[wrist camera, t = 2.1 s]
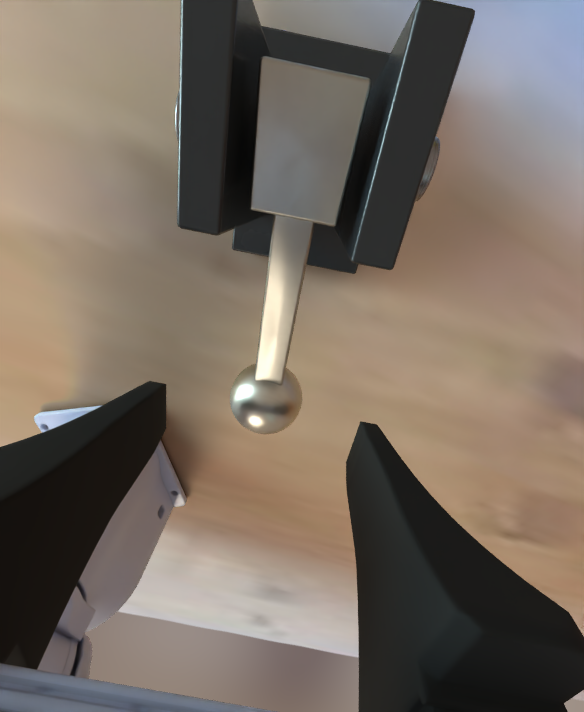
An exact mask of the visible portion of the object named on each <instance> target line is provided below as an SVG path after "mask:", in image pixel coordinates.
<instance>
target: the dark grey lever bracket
mask: <svg viewBox="0 0 584 712" xmlns="http://www.w3.org/2000/svg"><path fill="white" fill-rule="evenodd" d="M474 15H475V11H474V10H473V9H470V8H466V7H461V6H457V5H452V4H447V3H443V2H438V1H433V0H419V1H418V2H417V4H416V6H415V8H414V10H413V12H412V14H411V16H410V17H409V19H408V21H407V23H406V25H405V27H404V29H403V31H402V33H401V35H400V37H399V38H398V40H397V42H396V44H395V46H394V48H393V50H392V52H391V53H386V52H381V51H377V50H372V49H367V48H363V47H358V46H353V45H349V44H344V43H339V42H334V41H330V40H325V39H320V38H316V37H311V36H306V35H302V34H297V33H292V32H288V31H283V30H278V29H273V28H269V27H264V26H261V24H260V21H259V18H258V15H257V12H256V9H255V6H254V3H253V0H181V24H180V85H179V93H178V96H177V100H176V109H175V126H176V134H177V139H178V143H179V146H178V207H177V224H178V227H180V228H182V229H187V230H192V231H197V232H202V233H207V234H212V235H220V234H223V233H225V232H227V231H230V230H232V229H234V232H233V243H232V249H233V250H236V251H241V252H246V253H251V254H256V255H261V256H266V257H269V252H270V244H271V236H272V227H273V219H274V215H273V214H268V213H263V212H258V211H253V210H251V209H250V207H249V198H250V185H251V171H252V157H253V143H254V129H255V115H256V102H257V88H258V74H259V61H260V59H261V57H264V56H267V57H271V58H276V59H281V60H286V61H290V62H295V63H300V64H304V65H309V66H314V67H319V68H323V69H328V70H333V71H338V72H342V73H347V74H352V75H357V76H361V77H366V78H369V79H370V80H371V84H372V86H371V90H370V94H369V98H368V102H367V106H366V110H365V114H364V119H363V123H362V127H361V131H360V135H359V139H358V143H357V147H356V151H355V155H354V160H353V164H352V168H351V172H350V176H349V180H348V184H347V188H346V192H345V196H344V200H343V205H342V209H341V213H340V217H339V221H338V224H337V225H336V226H334V227H333V226H328V225H323V224H318V223H315V224H314V229H313V234H312V239H311V244H310V249H309V254H308V259H307V265H312V266H317V267H322V268H327V269H332V270H337V271H342V272H347V273H352V274H355V273H356V270H357V267H358V264H361V265H366V266H371V267H376V268H381V269H386V270H392V269H393V268H394V265H395V262H396V259H397V256H398V253H399V250H400V246H401V243H402V240H403V237H404V234H405V231H406V228H407V225H408V222H409V218H410V215H411V212H412V209H413V206H414V203H415V201H418V200H419V199H420V198H421V197H422V196H423V194H424V192H425V191H426V189H427V187H428V185H429V183H430V181H431V178H432V176H433V173H434V170H435V167H436V164H437V160H438V156H439V150H440V140H439V138H437V137H436V134H437V131H438V128H439V125H440V122H441V119H442V116H443V113H444V109H445V106H446V103H447V100H448V97H449V94H450V91H451V88H452V85H453V81H454V78H455V75H456V72H457V69H458V66H459V63H460V60H461V56H462V53H463V50H464V47H465V44H466V41H467V38H468V35H469V32H470V28H471V25H472V22H473V19H474Z"/></svg>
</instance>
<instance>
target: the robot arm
mask: <svg viewBox="0 0 584 712" xmlns="http://www.w3.org/2000/svg"><path fill="white" fill-rule="evenodd" d="M34 420H35V422H36V424H37V426H38V427H39V429H40V430H41V432H42V433H40V434H37V435H35V436H32V437H29V438H27V439H24V440H21V441H18V442H15V443H12V444H9V445H5V446H2V447H0V712H276V711H270V710H264V709H259V708H253V707H248V706H242V705H236V704H230V703H224V702H218V701H213V700H207V699H201V698H196V697H190V696H185V695H179V694H173V693H167V692H162V691H155V690H150V689H144V688H139V687H133V686H127V685H122V684H115V683H110V682H104V681H99V680H92V679H89V673H90V665H91V659H92V644H91V641H90V639H89V637H88V636H86V635H85V632H88V631H90V630H92V629H94V628H96V627H97V626H99V625H101V624H103V623H104V622H105V621H107V620H108V619H109V618H110V617H111V616H113V615H114V614H115V613H116V612H117V611H118V610H119V609H120V608H121V607H122V606H123V604H124V603H125V602H126V601H127V600H128V598H129V597H130V596H131V594H132V593H133V591H134V590H135V588H136V587H137V585H138V583H139V581H140V579H141V577H142V575H143V572H144V570H145V568H146V566H147V564H148V562H149V559H150V557H151V555H152V553H153V551H154V548H155V546H156V544H157V542H158V540H159V538H160V535H161V533H162V531H163V529H164V527H165V524H166V522H167V520H168V518H169V516H170V514H171V511H172V509H173V507H181V506H184V505H185V503H186V501H187V498H186V496H185V493H184V491H183V489H182V487H181V484H180V482H179V480H178V478H177V475H176V473H175V471H174V469H173V466H172V464H171V462H170V460H169V457H168V455H167V453H166V451H165V448H164V446H163V444H162V442H161V438H162V436H163V434H164V432H165V429H166V384H162V383H157V382H152V381H149V382H147V383H145V384H143V385H141V386H139V387H137V388H135V389H133V390H131V391H129V392H127V393H126V394H124V395H122V396H120V397H118V398H116V399H114V400H112V401H110V402H108V403H107V404H105V405H102V406H93V407H83V408H74V409H65V410H56V411H47V412H40V413H38V414H37V415H36V416H35V417H34ZM346 484H347V496H348V503H349V511H350V518H351V525H352V532H353V539H354V546H355V555H356V567H357V590H358V625H359V712H567V709H566V708H565V705H564V703H565V702H566V701H568V700H569V699H571V698H572V697H574V696H575V695H577V694H578V693H580V692H581V691H582V690H584V637H583V635H582V633H581V632H580V630H579V628H578V627H577V625H576V623H575V622H574V620H573V618H572V617H571V615H570V614H569V612H568V611H566V610H565V609H563V608H562V607H561V606H559V605H558V604H557V603H555V602H554V601H552V600H551V599H550V598H548V597H547V596H545V595H544V594H543V593H541V592H540V591H539V590H537V589H536V588H534V587H533V586H532V585H530V584H529V583H528V582H526V581H525V580H524V579H522V578H521V577H520V576H518V575H517V574H516V573H515V572H513V571H512V570H511V569H510V568H508V567H507V566H506V565H505V564H503V563H502V562H501V561H500V560H498V559H497V558H496V557H495V556H494V555H493V554H491V553H490V552H489V551H488V550H487V549H485V548H484V547H483V546H482V545H481V544H480V543H479V542H478V541H477V540H475V539H474V538H473V537H472V536H471V535H470V534H469V533H468V532H467V531H466V530H464V529H463V528H462V527H461V526H460V525H459V524H458V523H457V522H456V521H455V520H454V519H453V518H452V517H451V516H450V515H449V514H448V513H447V512H446V511H445V510H444V509H443V508H442V507H441V506H440V505H439V503H438V502H437V501H436V500H435V499H434V498H433V497H432V496H431V495H430V494H429V492H428V491H427V490H426V489H425V488H424V487H423V485H422V484H421V483H420V482H419V481H418V479H417V478H416V477H415V476H414V474H413V473H412V472H411V471H410V469H409V468H408V467H407V465H406V464H405V463H404V461H403V460H402V459H401V457H400V456H399V455H398V453H397V452H396V451H395V449H394V448H393V446H392V445H391V444H390V442H389V441H388V439H387V438H386V436H385V435H384V434H383V432H382V431H381V429H380V428H379V427H378V425H377V424H371V423H366V422H360V425H359V427H358V430H357V433H356V436H355V439H354V442H353V444H352V447H351V450H350V453H349V456H348V459H347V462H346Z"/></svg>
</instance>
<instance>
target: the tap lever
mask: <svg viewBox="0 0 584 712" xmlns="http://www.w3.org/2000/svg"><path fill="white" fill-rule="evenodd" d="M371 86H372V84H371V80H370V79H369V78H366V77H361V76H357V75H352V74H347V73H342V72H338V71H333V70H328V69H323V68H319V67H314V66H309V65H304V64H300V63H295V62H290V61H286V60H281V59H276V58H271V57H267V56H264V57H261V59H260V61H259V74H258V88H257V102H256V115H255V129H254V143H253V157H252V171H251V185H250V198H249V207H250V209H251V210H253V211H258V212H263V213H268V214H273V215H274V219H273V227H272V236H271V244H270V252H269V261H268V269H267V277H266V286H265V294H264V302H263V310H262V319H261V327H260V335H259V344H258V352H257V360H256V364H253V365H250V366H249V367H247V368H245V369H244V370H243V371H242V372H241V373H240V374H239V375H238V376H237V378H236V379H235V381H234V383H233V385H232V388H231V392H230V405H231V409H232V412H233V414H234V416H235V418H236V419H237V420H238V422H239V423H240V424H241V425H242V426H243V427H245V428H246V429H248V430H250V431H252V432H254V433H258V434H273V433H277V432H279V431H282V430H284V429H285V428H287V427H288V426H289V425H290V424H291V423H292V422H293V421H294V420H295V419H296V417H297V415H298V414H299V411H300V408H301V404H302V391H301V387H300V384H299V382H298V380H297V378H296V377H295V375H294V374H293V373H292V372H291V371H290V370H289V369H287V368H286V364H287V359H288V354H289V349H290V344H291V339H292V334H293V329H294V324H295V319H296V314H297V309H298V304H299V299H300V294H301V289H302V284H303V279H304V274H305V269H306V264H307V259H308V254H309V249H310V244H311V239H312V234H313V229H314V224H315V223H318V224H323V225H328V226H333V227H334V226H336V225H337V224H338V221H339V217H340V213H341V209H342V205H343V200H344V196H345V192H346V188H347V184H348V180H349V176H350V172H351V168H352V164H353V160H354V155H355V151H356V147H357V143H358V139H359V135H360V131H361V127H362V123H363V119H364V114H365V110H366V106H367V102H368V98H369V94H370V90H371Z"/></svg>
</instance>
